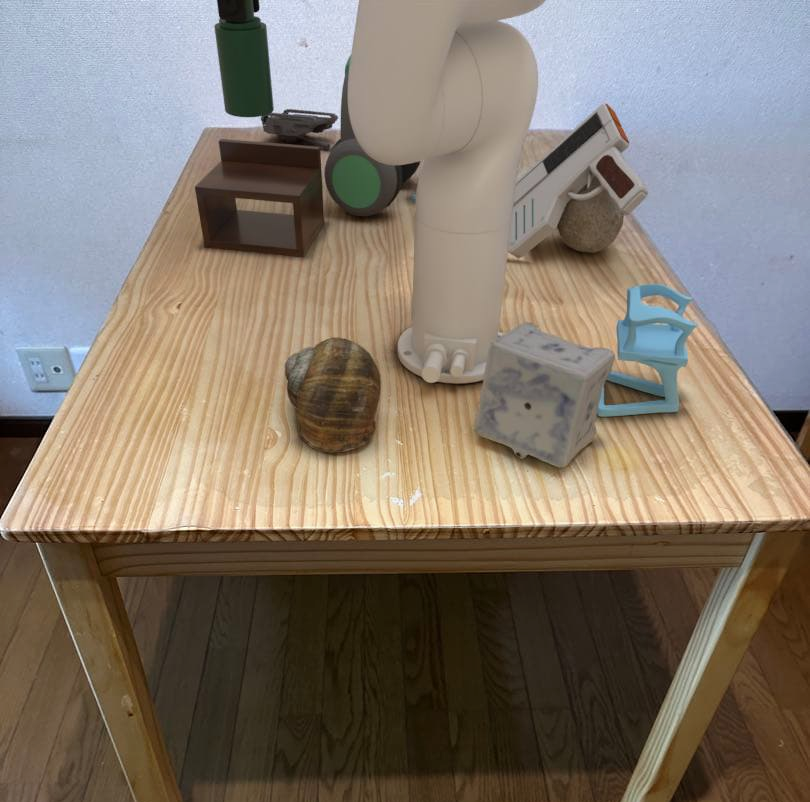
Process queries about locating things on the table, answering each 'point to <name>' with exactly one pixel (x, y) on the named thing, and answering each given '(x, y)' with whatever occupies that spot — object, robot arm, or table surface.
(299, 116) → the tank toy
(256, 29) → the bottle
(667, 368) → the chair
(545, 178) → the futuristic handgun
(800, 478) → the table surface
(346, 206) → the headphones
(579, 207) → the decorative stone
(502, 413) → the incense holder
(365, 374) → the seashell
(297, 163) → the box
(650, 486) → the table surface
